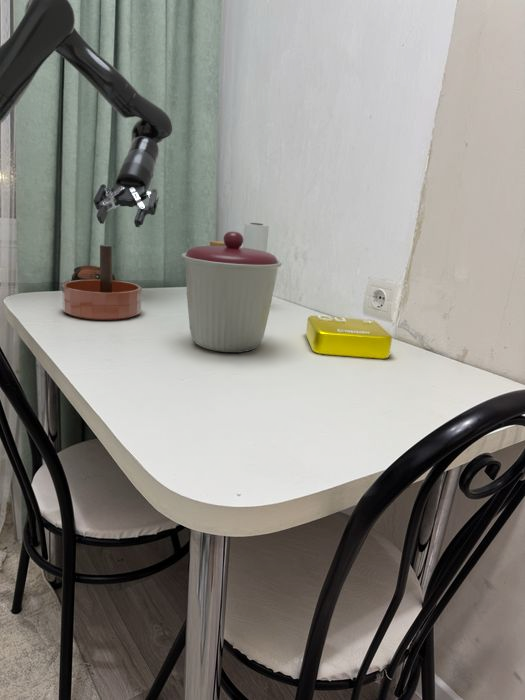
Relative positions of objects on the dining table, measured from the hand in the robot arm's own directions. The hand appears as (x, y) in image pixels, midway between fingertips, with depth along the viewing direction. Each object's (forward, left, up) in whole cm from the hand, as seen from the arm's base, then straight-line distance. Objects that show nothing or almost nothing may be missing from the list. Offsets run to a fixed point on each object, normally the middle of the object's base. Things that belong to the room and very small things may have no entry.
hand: (118, 223), depth 115 cm
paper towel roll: (+30, +15, -19) cm, 39 cm away
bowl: (0, -9, -19) cm, 21 cm away
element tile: (+53, -15, -19) cm, 59 cm away
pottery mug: (-11, +10, -19) cm, 24 cm away
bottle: (+18, +26, -19) cm, 37 cm away
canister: (+30, -24, -19) cm, 43 cm away
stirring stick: (0, -7, -19) cm, 20 cm away
